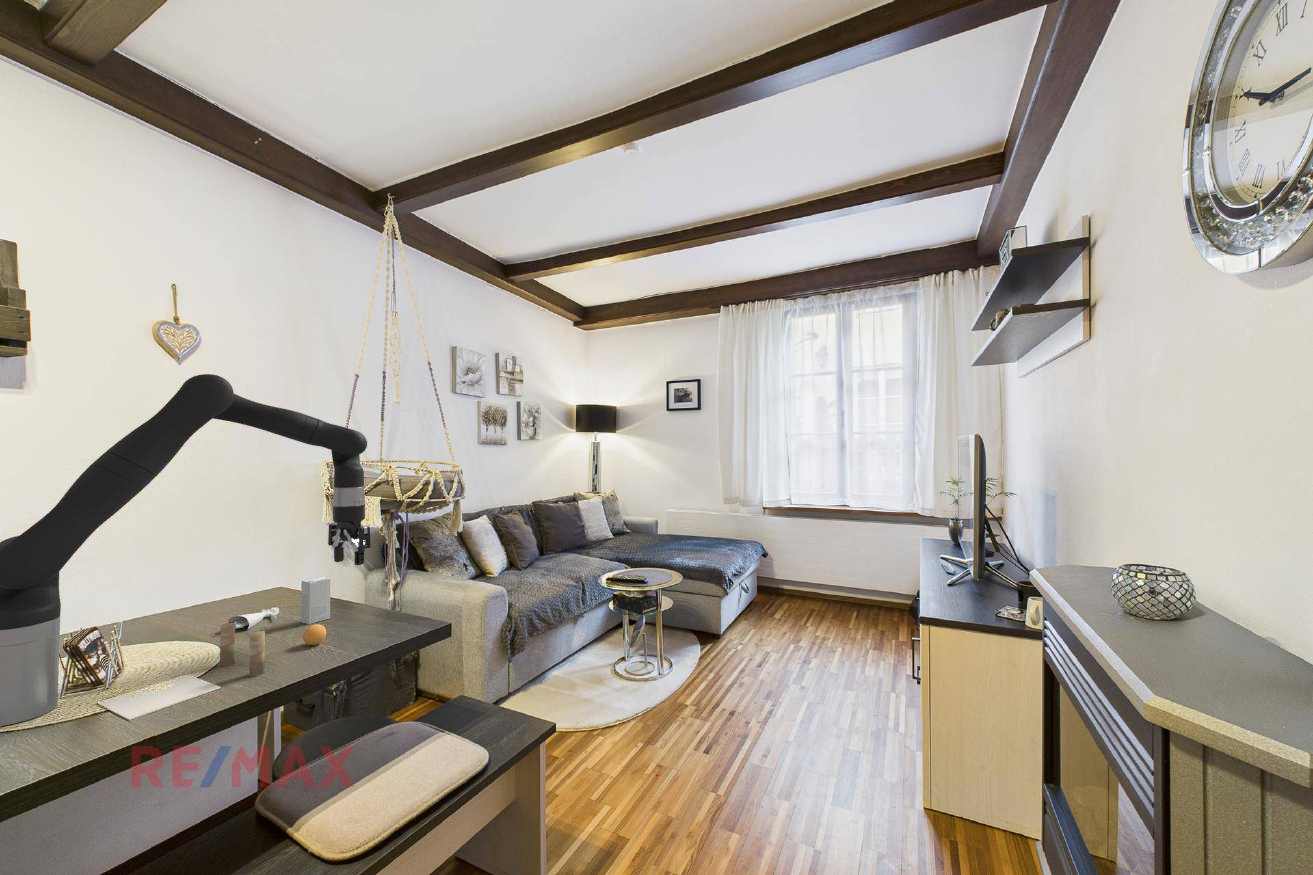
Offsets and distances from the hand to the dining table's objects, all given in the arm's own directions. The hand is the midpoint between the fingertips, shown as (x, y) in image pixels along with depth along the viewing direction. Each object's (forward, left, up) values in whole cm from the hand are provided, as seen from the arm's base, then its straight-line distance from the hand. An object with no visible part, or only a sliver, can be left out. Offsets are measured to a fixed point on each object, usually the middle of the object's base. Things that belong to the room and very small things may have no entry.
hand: (349, 563), depth 138 cm
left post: (-25, +6, -19) cm, 32 cm away
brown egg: (-9, 0, -16) cm, 19 cm away
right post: (-25, -6, -19) cm, 32 cm away
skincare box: (+2, +18, -19) cm, 26 cm away
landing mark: (-39, 0, -19) cm, 43 cm away
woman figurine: (-6, +32, -20) cm, 38 cm away
